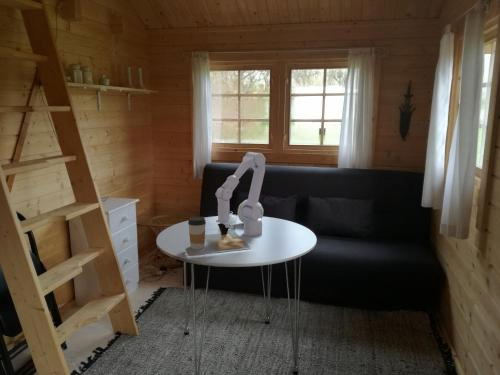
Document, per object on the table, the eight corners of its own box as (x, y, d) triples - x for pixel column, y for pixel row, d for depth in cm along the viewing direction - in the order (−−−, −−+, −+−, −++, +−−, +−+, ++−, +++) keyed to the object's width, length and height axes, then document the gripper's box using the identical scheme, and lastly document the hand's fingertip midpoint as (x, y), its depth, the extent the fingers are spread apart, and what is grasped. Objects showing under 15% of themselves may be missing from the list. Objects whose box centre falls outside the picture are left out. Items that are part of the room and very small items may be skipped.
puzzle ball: (240, 229, 224) (240, 202, 222) (235, 222, 239) (235, 197, 236) (266, 227, 228) (266, 201, 225) (259, 220, 242) (259, 196, 240)
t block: (235, 239, 203) (235, 233, 202) (243, 246, 192) (243, 240, 191) (212, 241, 199) (212, 235, 199) (219, 249, 188) (218, 243, 188)
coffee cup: (203, 252, 186) (202, 221, 184) (186, 251, 188) (185, 220, 185) (208, 246, 195) (208, 216, 192) (192, 245, 196) (191, 215, 193)
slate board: (234, 233, 215) (234, 231, 215) (250, 249, 191) (250, 247, 191) (202, 237, 210) (201, 235, 209) (214, 253, 185) (214, 251, 185)
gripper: (212, 208, 205) (212, 234, 208) (219, 215, 192) (220, 242, 194) (225, 207, 207) (225, 233, 210) (233, 214, 194) (233, 241, 196)
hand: (224, 237), depth 202 cm, fingers closed
